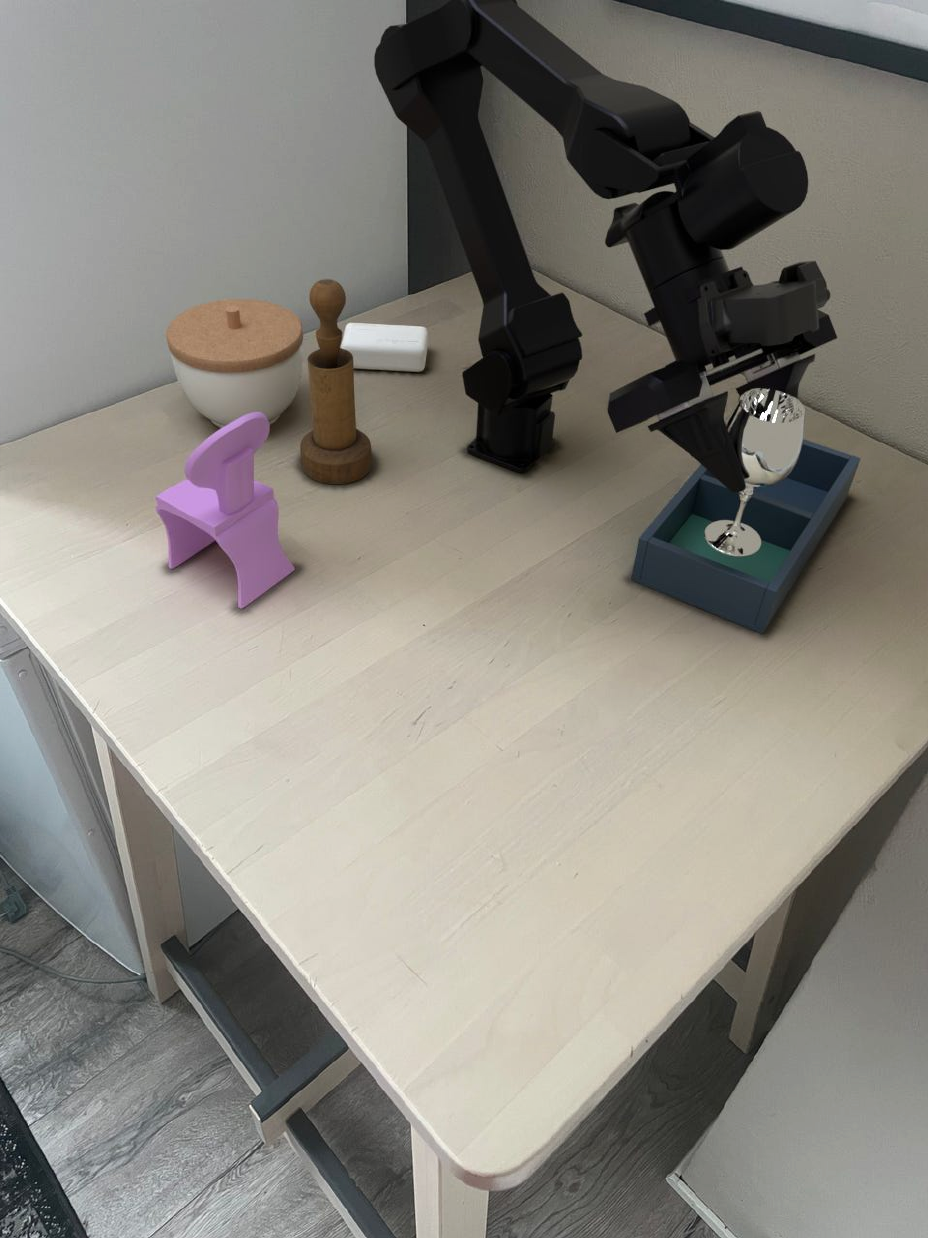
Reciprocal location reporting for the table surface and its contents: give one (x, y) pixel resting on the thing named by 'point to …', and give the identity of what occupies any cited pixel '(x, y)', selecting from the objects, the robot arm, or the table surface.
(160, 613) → the table surface
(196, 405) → the lidded bowl
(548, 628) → the table surface
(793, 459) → the wineglass
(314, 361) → the mortar and pestle
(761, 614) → the divided storage tray
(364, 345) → the soap
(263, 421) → the toy chair
